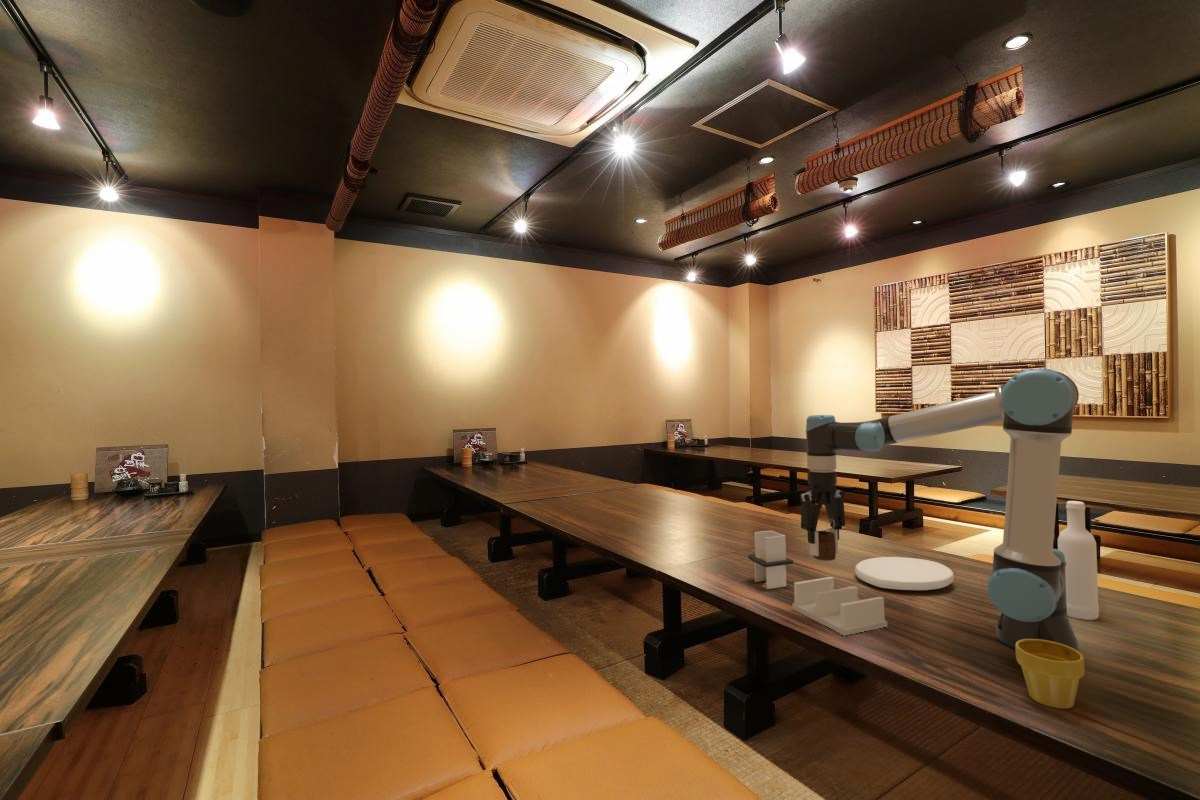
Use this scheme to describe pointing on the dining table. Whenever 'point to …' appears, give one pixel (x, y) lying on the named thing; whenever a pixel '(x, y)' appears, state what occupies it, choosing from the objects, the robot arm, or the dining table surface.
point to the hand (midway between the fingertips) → (824, 553)
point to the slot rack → (838, 606)
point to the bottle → (1079, 564)
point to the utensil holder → (826, 545)
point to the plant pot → (1050, 671)
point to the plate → (904, 573)
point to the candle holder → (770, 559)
